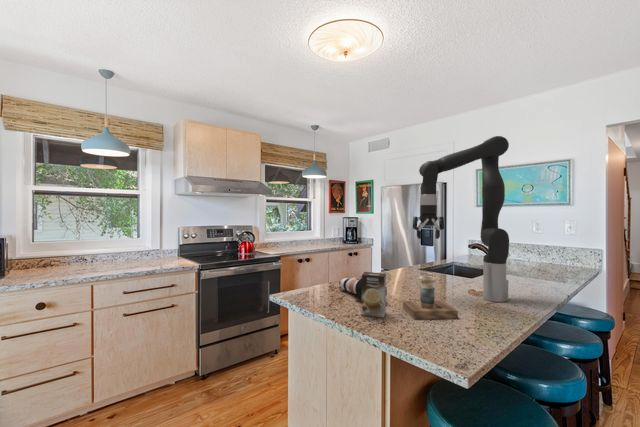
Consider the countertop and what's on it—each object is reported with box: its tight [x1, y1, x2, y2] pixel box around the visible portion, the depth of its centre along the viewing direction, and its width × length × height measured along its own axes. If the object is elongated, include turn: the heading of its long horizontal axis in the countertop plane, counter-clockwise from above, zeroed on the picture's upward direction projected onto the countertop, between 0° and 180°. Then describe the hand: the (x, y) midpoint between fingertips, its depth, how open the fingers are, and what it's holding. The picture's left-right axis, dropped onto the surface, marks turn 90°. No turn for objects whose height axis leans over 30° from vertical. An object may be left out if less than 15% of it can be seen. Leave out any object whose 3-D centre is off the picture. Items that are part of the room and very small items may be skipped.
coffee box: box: [360, 271, 387, 318], centre depth 120 cm, size 9×6×16 cm
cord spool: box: [419, 275, 437, 309], centre depth 122 cm, size 6×6×14 cm
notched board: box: [402, 300, 459, 320], centre depth 121 cm, size 17×13×3 cm
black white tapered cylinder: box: [338, 277, 388, 300], centre depth 146 cm, size 10×34×10 cm, turn 22°
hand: (428, 238), depth 141 cm, fingers open, 8 cm apart
